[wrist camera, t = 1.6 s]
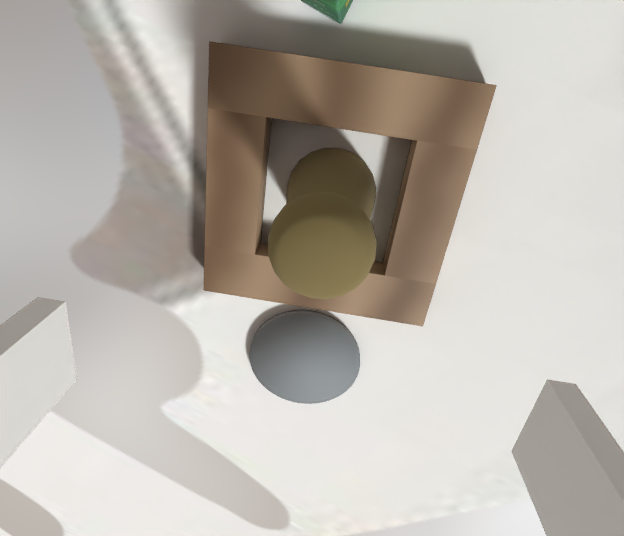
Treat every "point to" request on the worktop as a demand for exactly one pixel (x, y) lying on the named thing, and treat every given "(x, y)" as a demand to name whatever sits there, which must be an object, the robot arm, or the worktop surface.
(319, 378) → the coaster
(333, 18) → the coffee box
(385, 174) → the worktop surface
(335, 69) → the collar board
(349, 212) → the cork
